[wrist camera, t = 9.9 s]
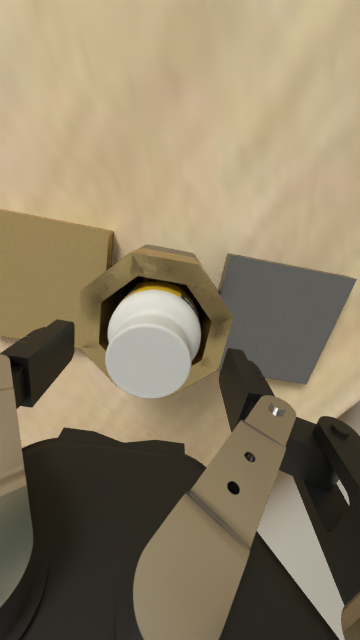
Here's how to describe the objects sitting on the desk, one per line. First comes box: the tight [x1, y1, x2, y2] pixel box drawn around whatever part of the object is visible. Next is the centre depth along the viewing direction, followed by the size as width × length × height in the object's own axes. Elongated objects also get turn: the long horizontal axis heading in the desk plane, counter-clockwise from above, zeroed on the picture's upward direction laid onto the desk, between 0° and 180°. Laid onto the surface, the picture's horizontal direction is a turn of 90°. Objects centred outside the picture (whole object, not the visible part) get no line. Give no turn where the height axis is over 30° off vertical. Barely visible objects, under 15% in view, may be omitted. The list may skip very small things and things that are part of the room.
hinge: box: [0, 209, 357, 395], centre depth 17 cm, size 29×10×6 cm, turn 80°
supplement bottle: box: [105, 277, 201, 399], centre depth 15 cm, size 5×5×10 cm
